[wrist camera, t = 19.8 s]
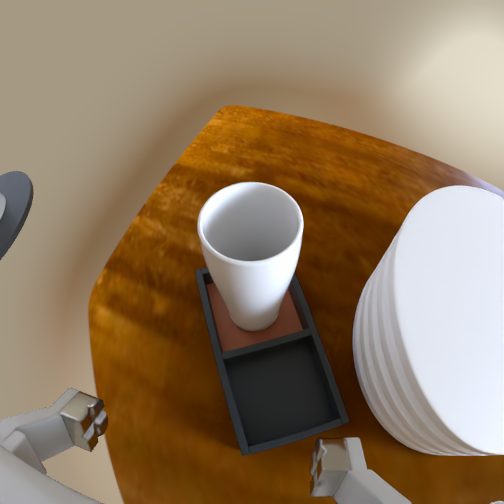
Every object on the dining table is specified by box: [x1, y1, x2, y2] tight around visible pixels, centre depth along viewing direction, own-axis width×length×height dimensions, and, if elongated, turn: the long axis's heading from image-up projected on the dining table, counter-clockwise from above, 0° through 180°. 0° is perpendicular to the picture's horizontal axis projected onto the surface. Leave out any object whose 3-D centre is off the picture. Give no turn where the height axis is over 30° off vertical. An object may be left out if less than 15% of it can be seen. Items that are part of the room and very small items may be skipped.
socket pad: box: [195, 267, 350, 456], centre depth 28 cm, size 10×19×3 cm, turn 16°
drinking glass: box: [197, 182, 303, 331], centre depth 25 cm, size 7×7×15 cm
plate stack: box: [353, 186, 504, 456], centre depth 24 cm, size 28×28×12 cm
